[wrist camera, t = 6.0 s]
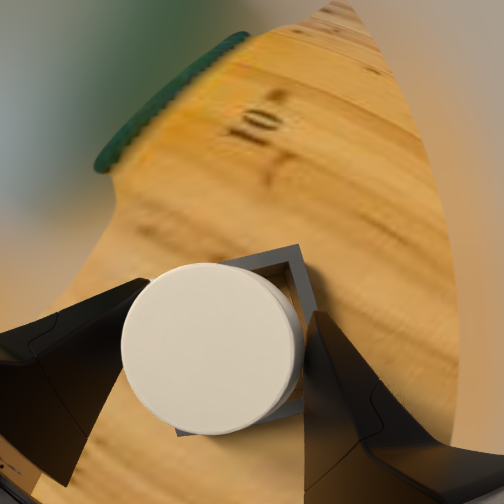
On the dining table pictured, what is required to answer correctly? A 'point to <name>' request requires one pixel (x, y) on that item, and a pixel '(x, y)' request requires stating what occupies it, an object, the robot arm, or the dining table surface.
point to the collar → (303, 303)
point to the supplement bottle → (212, 348)
